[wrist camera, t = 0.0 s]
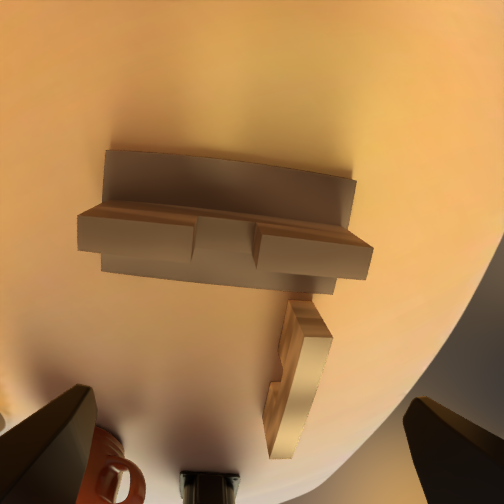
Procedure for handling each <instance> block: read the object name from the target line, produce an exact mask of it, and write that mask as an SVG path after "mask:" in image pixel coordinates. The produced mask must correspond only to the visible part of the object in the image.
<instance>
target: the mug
mask: <svg viewBox="0 0 504 504" xmlns="http://www.w3.org/2000/svg"><path fill="white" fill-rule="evenodd" d="M124 471H129V472H130V489H129V494H128V496H127V498H126V499H125V500H124V501H123V502H121V503H116V498H117V494H118V491H119V487H120V483H121V479H122V474H123V472H124ZM145 494H146V484H145V479H144V476H143V473H142V471H141V470H140V469H139V467H138V466H137V465H136V464H134V463H133V462H132V461H130V460H128V459H125V456H124V448H123V446H122V445H121V443H120V442H119V441H118V440H117V439H116V438H115V437H114V436H113V435H112V434H110V433H109V432H108V431H106V430H104V429H102V428H100V427H98V426H95V427H94V432H93V437H92V442H91V447H90V453H89V458H88V463H87V466H86V470H85V473H84V476H83V480H82V483H81V486H80V490H79V493H78V497H77V500H76V504H143V503H144V500H145Z"/></svg>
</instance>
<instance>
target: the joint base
mask: <svg viewBox="0 0 504 504" xmlns="http://www.w3.org/2000/svg"><path fill="white" fill-rule="evenodd" d="M356 183H357V181H355V180H351V179H346V178H341V177H336V176H331V175H325V174H320V173H314V172H308V171H302V170H296V169H290V168H283V167H277V166H270V165H263V164H256V163H249V162H241V161H233V160H225V159H216V158H207V157H197V156H187V155H176V154H164V153H151V152H136V151H118V150H106V155H105V166H104V179H103V195H102V203H101V204H99V205H97V206H95V207H93V208H91V209H89V210H87V211H85V212H83V213H81V214H79V215H77V241H78V251H86V252H94V253H101V271H103V272H110V273H118V274H126V275H134V276H142V277H151V278H159V279H168V280H177V281H186V282H195V283H205V284H215V285H225V286H235V287H245V288H256V289H267V290H279V291H291V292H303V293H316V294H330V295H333V292H334V288H335V284H336V280H337V278H344V279H356V280H366V277H367V274H368V270H369V266H370V262H371V258H372V253H373V249H374V248H373V247H371V246H370V245H369V244H367V243H366V242H364V241H363V240H361V239H360V238H358V237H357V236H355V235H354V234H353V233H351V232H350V231H348V225H349V220H350V215H351V210H352V205H353V199H354V194H355V188H356Z"/></svg>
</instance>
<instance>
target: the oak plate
mask: <svg viewBox="0 0 504 504" xmlns="http://www.w3.org/2000/svg"><path fill="white" fill-rule="evenodd" d="M332 340H333V337H332V335H331V333H330V331H329V330H328V328H327V326H326V324H325V323H324V321H323V319H322V317H321V316H320V314H319V312H318V310H317V309H316V307H315V305H314V303H313V302H312V301H299V300H288V304H287V309H286V314H285V319H284V324H283V329H282V333H281V338H280V343H279V347H278V353H279V357H280V360H281V364H282V367H283V375H282V379H281V382H271V383H270V387H269V391H268V396H267V400H266V404H265V408H264V413H263V417H262V418H263V424H264V430H265V436H266V442H267V448H268V454H269V459H292V456H293V454H294V451H295V449H296V446H297V444H298V441H299V438H300V436H301V433H302V430H303V428H304V425H305V422H306V419H307V417H308V414H309V411H310V408H311V405H312V403H313V400H314V397H315V394H316V391H317V388H318V385H319V382H320V379H321V376H322V373H323V370H324V366H325V363H326V360H327V357H328V354H329V350H330V347H331V344H332Z"/></svg>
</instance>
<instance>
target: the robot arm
mask: <svg viewBox="0 0 504 504" xmlns="http://www.w3.org/2000/svg"><path fill="white" fill-rule="evenodd" d="M96 418H97V406H96V402H95V397H94V392H93V389H92V387H90V386H87V385H82V384H76V385H74V386H73V387H72V388H70V389H69V390H67V391H66V392H64V393H63V394H61V395H60V396H58V397H57V398H56V399H54V400H53V401H51V402H50V403H48V404H47V405H45V406H44V407H42V408H41V409H39V410H38V411H37V412H35V413H34V414H32V415H31V416H29V417H28V418H26V419H25V420H23V421H22V422H20V423H19V424H17V425H16V426H14V427H13V428H12V429H10V430H9V431H7V432H6V433H4V434H3V435H1V436H0V504H76V500H77V497H78V493H79V490H80V486H81V483H82V480H83V476H84V473H85V470H86V466H87V463H88V458H89V453H90V447H91V442H92V437H93V432H94V427H95V422H96ZM403 426H404V430H405V433H406V437H407V440H408V444H409V448H410V452H411V456H412V460H413V463H414V466H415V469H416V471H417V474H418V477H419V480H420V483H421V485H422V488H423V491H424V494H425V497H426V500H427V503H428V504H504V440H503V439H502V438H500V437H498V436H496V435H494V434H492V433H491V432H488V431H487V430H485V429H483V428H481V427H480V426H478V425H476V424H474V423H472V422H471V421H469V420H467V419H465V418H464V417H462V416H460V415H458V414H456V413H455V412H453V411H451V410H449V409H447V408H446V407H444V406H442V405H441V404H439V403H437V402H435V401H434V400H432V399H430V398H429V397H427V396H422V397H416V398H414V399H413V400H412V401H411V403H410V405H409V407H408V409H407V411H406V413H405V414H404V416H403ZM239 482H240V476H239V475H236V474H212V473H198V472H186V471H182V472H180V492H181V498H182V499H183V504H235V498H236V494H237V490H238V486H239Z"/></svg>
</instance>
